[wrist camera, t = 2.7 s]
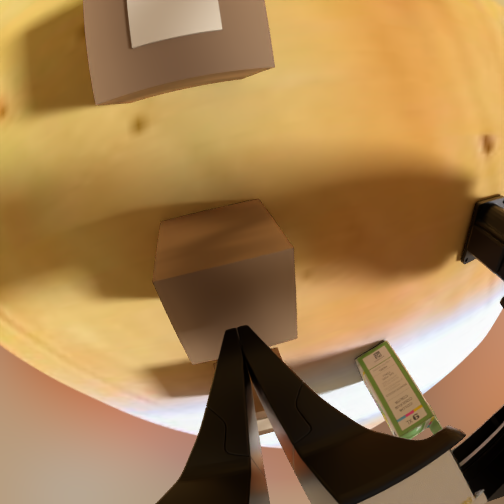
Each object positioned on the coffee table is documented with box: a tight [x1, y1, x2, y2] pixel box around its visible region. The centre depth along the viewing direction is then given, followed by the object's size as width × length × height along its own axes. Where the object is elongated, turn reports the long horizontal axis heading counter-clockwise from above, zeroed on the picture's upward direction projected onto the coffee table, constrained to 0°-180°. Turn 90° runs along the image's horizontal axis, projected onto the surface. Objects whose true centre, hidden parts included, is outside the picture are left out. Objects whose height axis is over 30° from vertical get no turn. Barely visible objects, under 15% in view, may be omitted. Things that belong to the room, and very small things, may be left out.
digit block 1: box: [83, 0, 275, 105], centre depth 7 cm, size 5×5×5 cm
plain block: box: [153, 199, 297, 365], centre depth 13 cm, size 5×5×5 cm
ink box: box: [355, 341, 443, 439], centre depth 20 cm, size 7×4×13 cm, turn 29°
